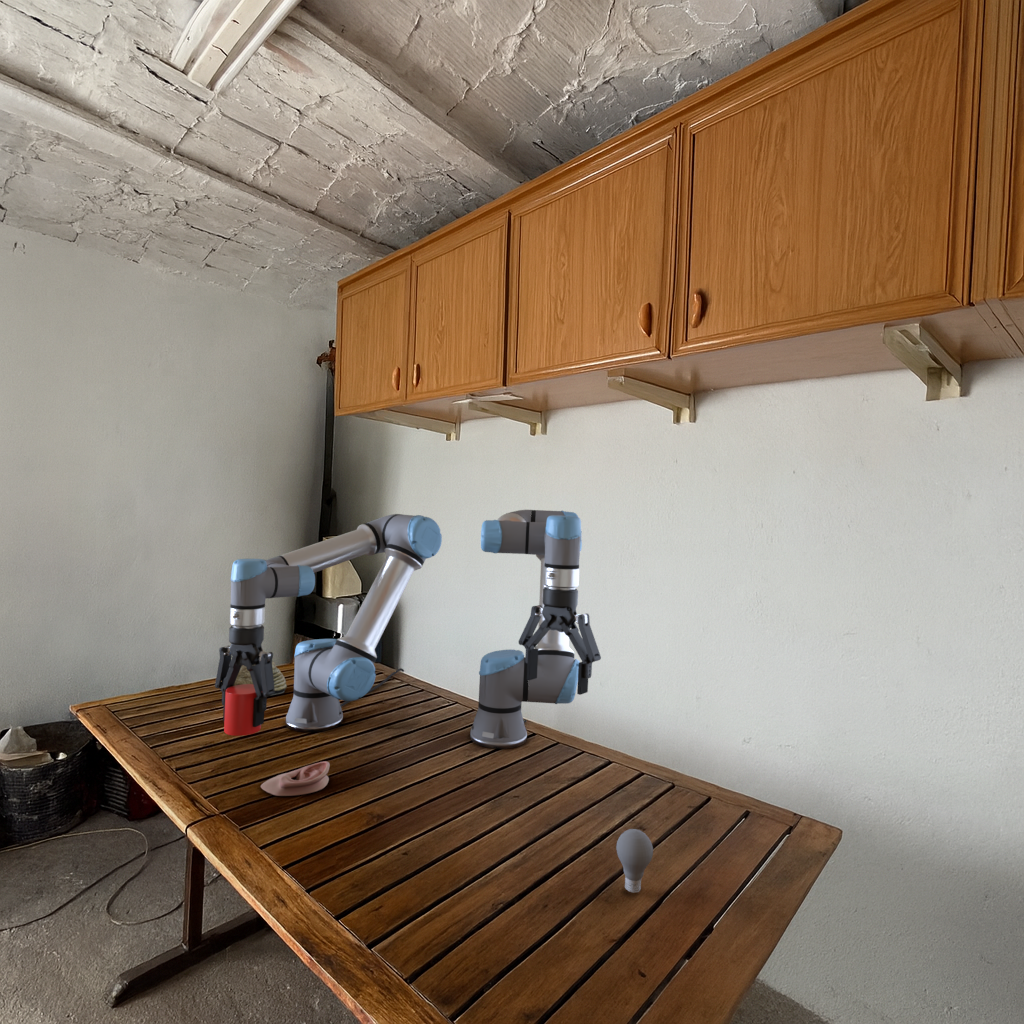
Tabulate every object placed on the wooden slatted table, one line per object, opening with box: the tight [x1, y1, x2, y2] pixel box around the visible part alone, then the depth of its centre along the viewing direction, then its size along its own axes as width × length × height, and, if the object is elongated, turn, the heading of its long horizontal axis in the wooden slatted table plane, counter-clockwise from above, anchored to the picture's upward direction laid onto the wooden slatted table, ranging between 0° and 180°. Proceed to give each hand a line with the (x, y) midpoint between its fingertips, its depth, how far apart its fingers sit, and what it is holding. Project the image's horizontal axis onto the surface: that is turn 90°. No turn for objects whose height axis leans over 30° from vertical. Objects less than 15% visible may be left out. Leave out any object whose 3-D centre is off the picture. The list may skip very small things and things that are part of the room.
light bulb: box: [615, 828, 654, 894], centre depth 106 cm, size 6×6×10 cm
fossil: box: [231, 649, 288, 697], centre depth 198 cm, size 9×18×15 cm, turn 132°
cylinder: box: [223, 684, 262, 737], centre depth 148 cm, size 8×8×10 cm
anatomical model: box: [260, 760, 331, 797], centre depth 138 cm, size 13×4×12 cm
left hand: (243, 721), depth 148 cm, fingers closed on cylinder, 8 cm apart
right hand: (556, 685), depth 136 cm, fingers open, 13 cm apart
